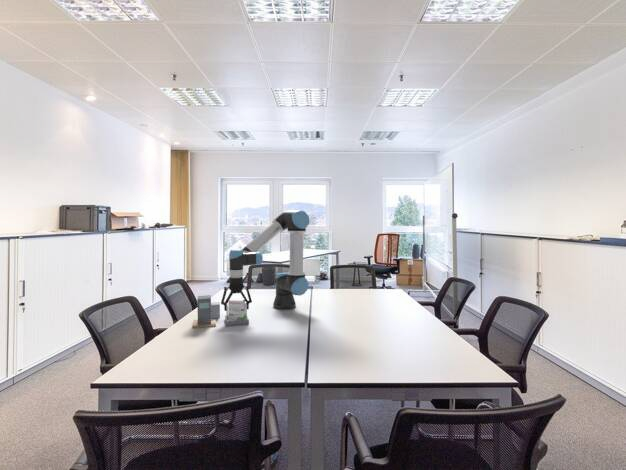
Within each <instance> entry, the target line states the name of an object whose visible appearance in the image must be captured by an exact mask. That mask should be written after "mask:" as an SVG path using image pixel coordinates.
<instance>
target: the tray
mask: <svg viewBox="0 0 626 470" xmlns="http://www.w3.org/2000/svg"><path fill="white" fill-rule="evenodd" d="M224 322H225V327H235V326H248V325H250V319H249V317H248V315H247V316H246V315H245V320H241V321H228V317H227V314H225V315H224Z"/></svg>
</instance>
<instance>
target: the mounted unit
mask: <svg viewBox="0 0 626 470" xmlns="http://www.w3.org/2000/svg"><path fill="white" fill-rule="evenodd" d="M196 299H197V303H196V305H197V319H193V321H192V329H199V328H210V327H217V320H216V319H217V318H211V303H212V295H198V296H197V298H196Z"/></svg>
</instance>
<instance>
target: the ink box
mask: <svg viewBox="0 0 626 470" xmlns="http://www.w3.org/2000/svg"><path fill="white" fill-rule="evenodd" d="M245 303H246V301H245V300H244V299H236V298H235V299H233V298H232V299H231V298H230V300H229V301H228V321H241V320H245Z"/></svg>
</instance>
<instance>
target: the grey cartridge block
mask: <svg viewBox="0 0 626 470" xmlns="http://www.w3.org/2000/svg"><path fill="white" fill-rule="evenodd" d="M220 309H221V302H220V301H217V302H211V319H212V318H216V319H218V318H219V319H220V318H221V313H220V312H221V310H220Z"/></svg>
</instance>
